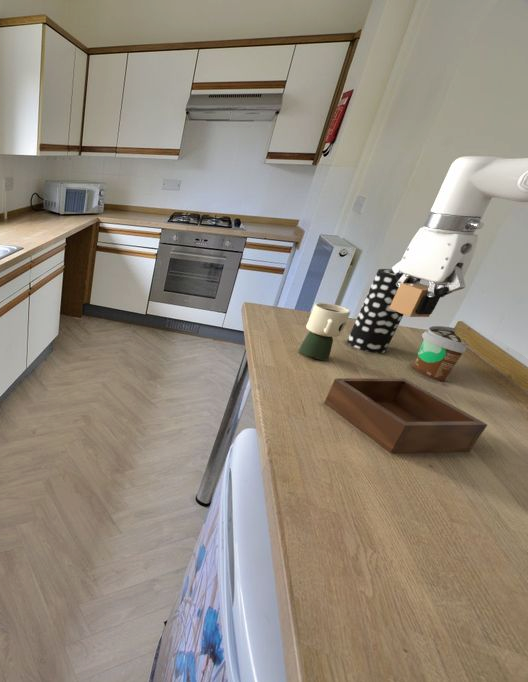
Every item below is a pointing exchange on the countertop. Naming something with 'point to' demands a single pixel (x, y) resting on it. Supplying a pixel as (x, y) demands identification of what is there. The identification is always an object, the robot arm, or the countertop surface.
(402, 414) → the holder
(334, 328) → the character mug
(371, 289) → the white-spotted black cylinder
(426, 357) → the food container
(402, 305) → the box
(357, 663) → the countertop surface
